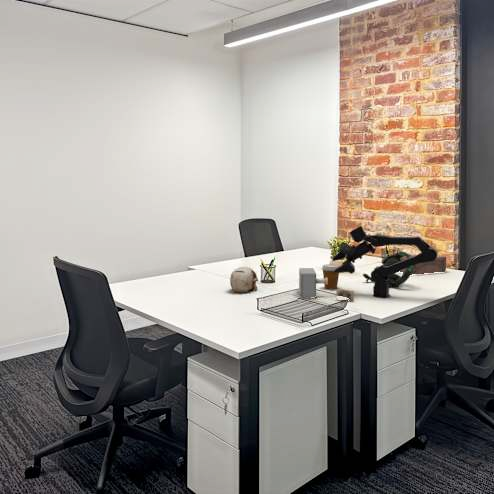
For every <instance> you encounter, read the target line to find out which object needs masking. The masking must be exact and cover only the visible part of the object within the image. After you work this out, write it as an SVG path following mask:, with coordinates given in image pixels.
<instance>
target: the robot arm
mask: <svg viewBox="0 0 494 494" xmlns="http://www.w3.org/2000/svg"><path fill="white" fill-rule="evenodd" d="M348 234H349V235H350V237H351V238H352V240H353V241H354V243H357V245H355V244H353V245H350V244H349V243H347V242H345V241H342V242H341V243H340V244H339V245H338V252H337V253H336V254H335V255H334V257H333V258H332V262H336V261H338V260H341V259H344V258H345V260H344V261H343V262H341V265H339V266H340V267H338V268H337V269H335V270H334V272H335V273H337V272H339V273H348V274H350V275H351V274H353V273H355V271H356V268H355V264H354V263H356V261H357V260H358V259H360V260H362V259H363V256H365V255H367V254H369V253H371V254H372V255H374V254H375V252H376V250H377V248H379V247H384V246H392V245H393V246H415V247H416V248H417V249H418V251H420V253H418V254H415V255H416V256H414V257H411V258H408V259H406V260H403V261H401V262H398V263H395V264H393V265H390V266H385V265H384V264H383V263H382V264H381V265H379V266H376V267H374V268H373V270H372V271H371V272H370V277H371V278H372V279H373V280H374V282H373V283H374V284H373V287H372V288H373V289H372V290H373V291H372V292H373V295H372V297H378V298H383V299H385V298H388V297H390V296H391V294H390V286H389V284H388V281H389V277H388V275H390V274H392V273H394V272H397V271H400V270H402V269H405V268H408V267H410V266H413V265H415V264H418V263H425V262H430V261H434V260H435V259H436V258H437V256H439V251H438V250H437V249H436V248H435V247H433V246H431V245H429V244H428V243H427V242H426V241H425V240H424V239H423V238H422V237H421V236H389V235H386V234H381V233H377V234H374V235H372V234H367V233H366V231H365V230H364V227H363V226H362V225H360V226H358V227H356V228H354V229H352V230H351V231H349V232H348Z"/></svg>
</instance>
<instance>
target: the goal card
mask: <svg viewBox="0 0 494 494" xmlns="http://www.w3.org/2000/svg"><path fill="white" fill-rule="evenodd" d="M335 290H336V291H335V292H336V293H335V294H336V295H335V297H336V296H343V297H347V298H350V300H349V301H348V302H350V303H351V302H352V303H353V302H354V301H355V300H354V297H355V291H354V290H348V289H340V288H339V289H338V288H337V289H335Z"/></svg>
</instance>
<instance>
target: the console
mask: <svg viewBox="0 0 494 494" xmlns="http://www.w3.org/2000/svg"><path fill="white" fill-rule="evenodd" d="M298 271H299V272H298V276H299V277H298V281H299V282H298V289H300V292H299V295H301V296H300V298H301V299H312V298H311V297H315V296H316V297H317V284H316V279H317V272H316V271H315V269H314V267H300V268H299V270H298Z"/></svg>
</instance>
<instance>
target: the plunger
mask: <svg viewBox="0 0 494 494" xmlns="http://www.w3.org/2000/svg"><path fill="white" fill-rule="evenodd" d="M317 284H323V285H324V284H326V285H327V284H328V278H325V279H324V278H316V285H317Z"/></svg>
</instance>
